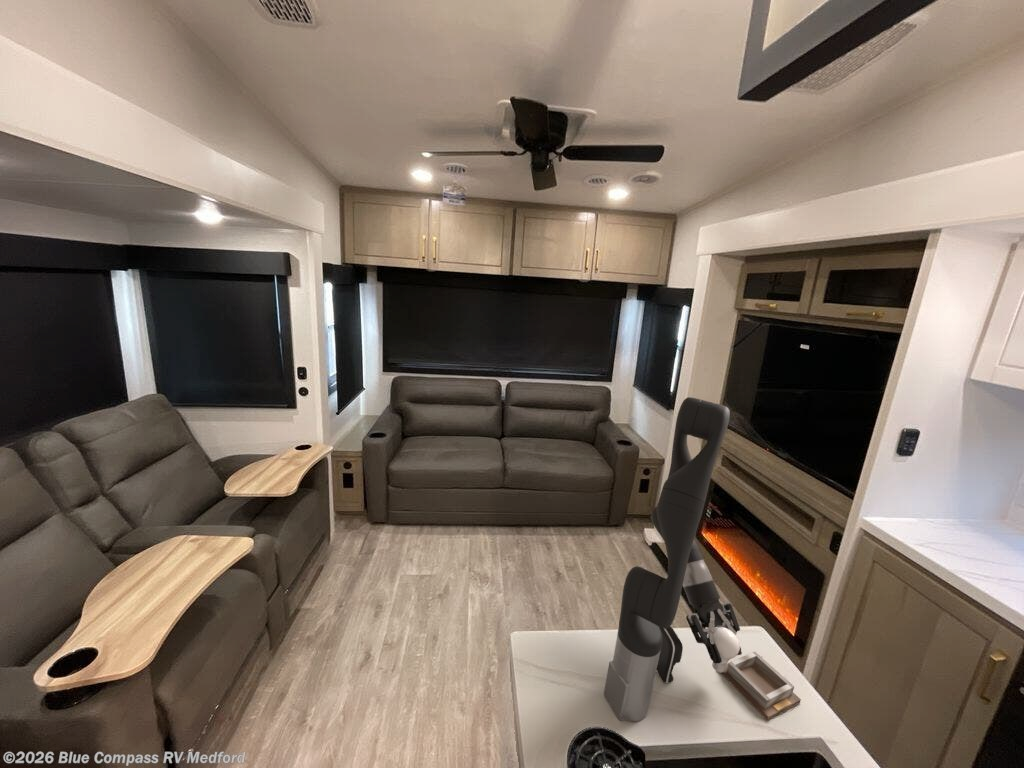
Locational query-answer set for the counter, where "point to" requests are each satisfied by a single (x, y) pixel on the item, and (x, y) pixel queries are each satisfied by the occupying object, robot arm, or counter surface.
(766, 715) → the socket board
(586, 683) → the counter surface
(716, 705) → the counter surface
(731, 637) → the lightbulb
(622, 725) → the counter surface
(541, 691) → the counter surface
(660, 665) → the battery charger
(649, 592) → the robot arm
